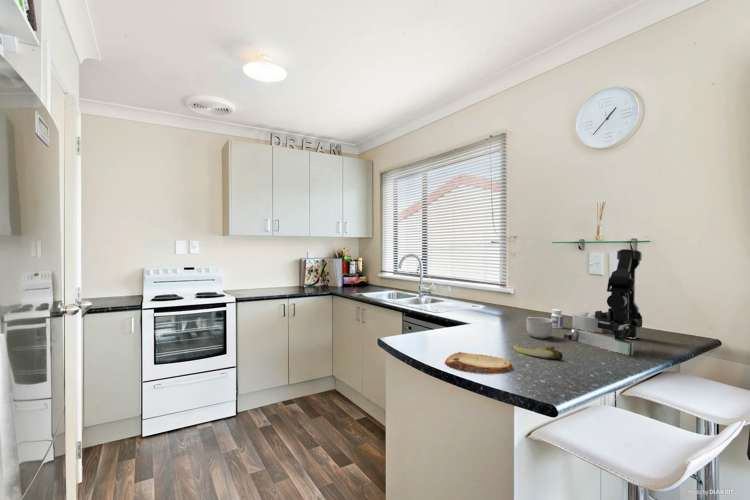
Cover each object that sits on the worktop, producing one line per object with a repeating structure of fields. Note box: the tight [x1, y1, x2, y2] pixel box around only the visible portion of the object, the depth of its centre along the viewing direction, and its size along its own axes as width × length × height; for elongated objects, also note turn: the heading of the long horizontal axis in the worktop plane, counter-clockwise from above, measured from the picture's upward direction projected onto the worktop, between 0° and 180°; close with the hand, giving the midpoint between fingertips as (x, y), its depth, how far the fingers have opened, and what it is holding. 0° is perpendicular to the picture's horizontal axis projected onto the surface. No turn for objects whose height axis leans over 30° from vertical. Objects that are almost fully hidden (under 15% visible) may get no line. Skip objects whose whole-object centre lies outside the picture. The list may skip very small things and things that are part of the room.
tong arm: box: [583, 331, 634, 356], centre depth 143 cm, size 20×1×4 cm, turn 23°
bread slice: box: [444, 351, 514, 374], centre depth 118 cm, size 18×18×4 cm
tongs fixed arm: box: [563, 328, 631, 356], centre depth 145 cm, size 26×4×4 cm, turn 22°
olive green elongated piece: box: [512, 343, 564, 360], centre depth 133 cm, size 20×10×3 cm, turn 40°
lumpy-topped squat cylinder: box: [572, 311, 604, 332], centre depth 174 cm, size 10×13×9 cm
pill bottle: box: [550, 308, 564, 329], centre depth 178 cm, size 5×5×9 cm
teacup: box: [525, 316, 553, 339], centre depth 160 cm, size 14×11×8 cm
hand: (619, 345), depth 140 cm, fingers closed
